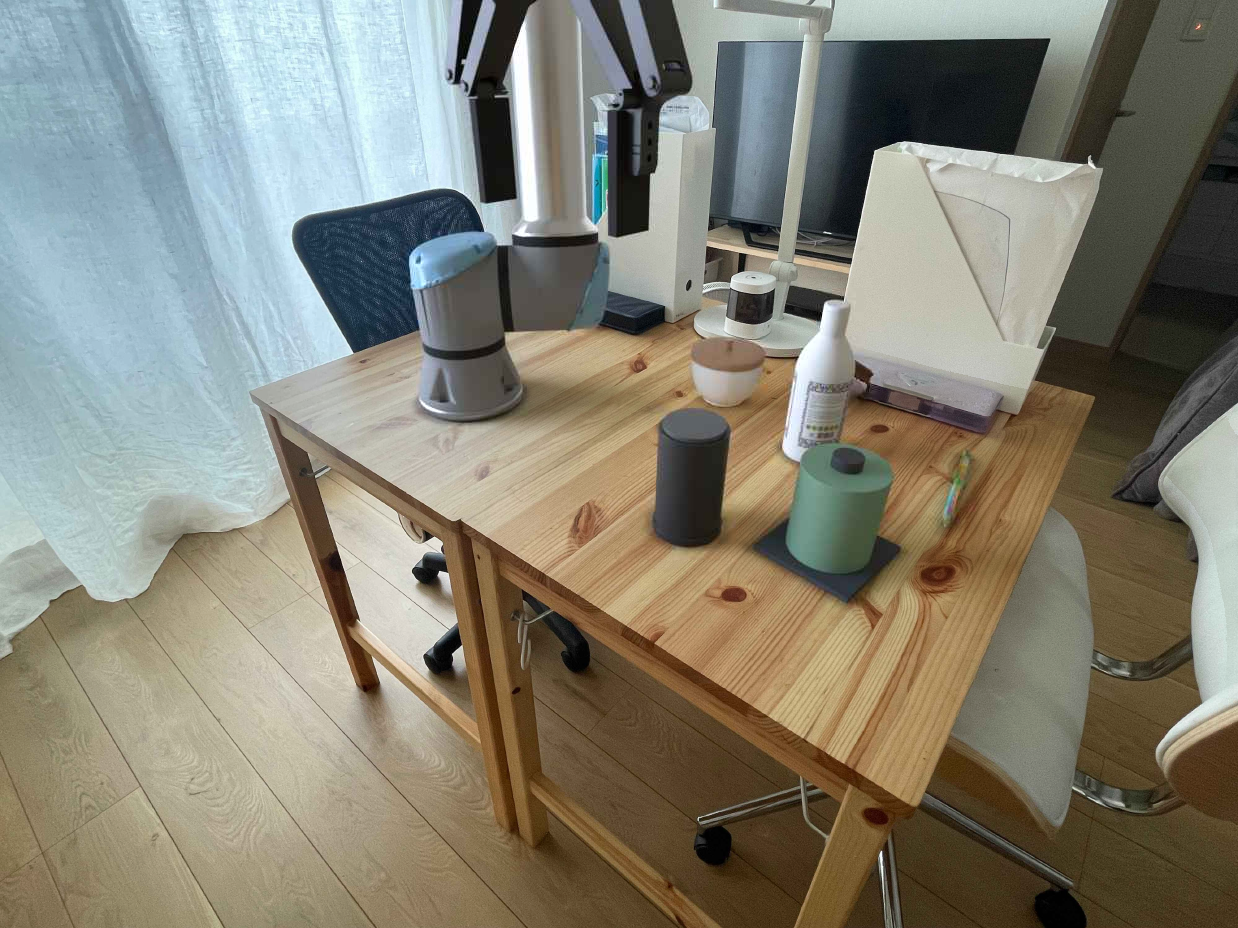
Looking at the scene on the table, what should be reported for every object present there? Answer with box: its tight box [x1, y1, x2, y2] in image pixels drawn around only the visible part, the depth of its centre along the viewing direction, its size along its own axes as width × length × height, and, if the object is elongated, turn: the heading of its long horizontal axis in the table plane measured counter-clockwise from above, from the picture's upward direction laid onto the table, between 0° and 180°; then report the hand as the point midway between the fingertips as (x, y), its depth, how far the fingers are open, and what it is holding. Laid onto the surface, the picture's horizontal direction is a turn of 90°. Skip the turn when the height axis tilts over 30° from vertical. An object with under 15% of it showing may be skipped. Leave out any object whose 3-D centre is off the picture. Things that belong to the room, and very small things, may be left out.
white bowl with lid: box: [690, 336, 766, 408], centre depth 93 cm, size 11×11×9 cm
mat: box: [752, 516, 902, 604], centre depth 66 cm, size 11×11×1 cm
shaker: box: [652, 407, 732, 548], centre depth 66 cm, size 8×8×13 cm
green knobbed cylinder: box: [786, 442, 895, 574], centre depth 63 cm, size 9×9×11 cm
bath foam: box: [781, 299, 856, 464], centre depth 77 cm, size 7×7×20 cm
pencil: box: [942, 449, 974, 529], centre depth 75 cm, size 1×1×18 cm
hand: (557, 216), depth 42 cm, fingers open, 13 cm apart
